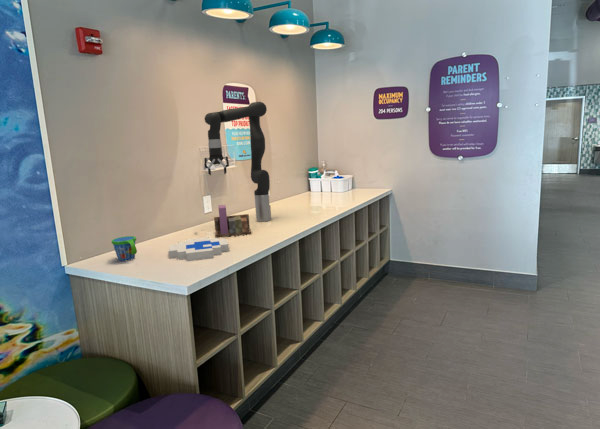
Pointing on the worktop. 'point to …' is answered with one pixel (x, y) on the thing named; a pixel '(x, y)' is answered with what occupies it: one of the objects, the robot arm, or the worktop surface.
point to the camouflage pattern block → (234, 226)
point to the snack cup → (125, 247)
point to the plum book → (223, 219)
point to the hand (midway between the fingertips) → (217, 174)
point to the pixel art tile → (198, 248)
